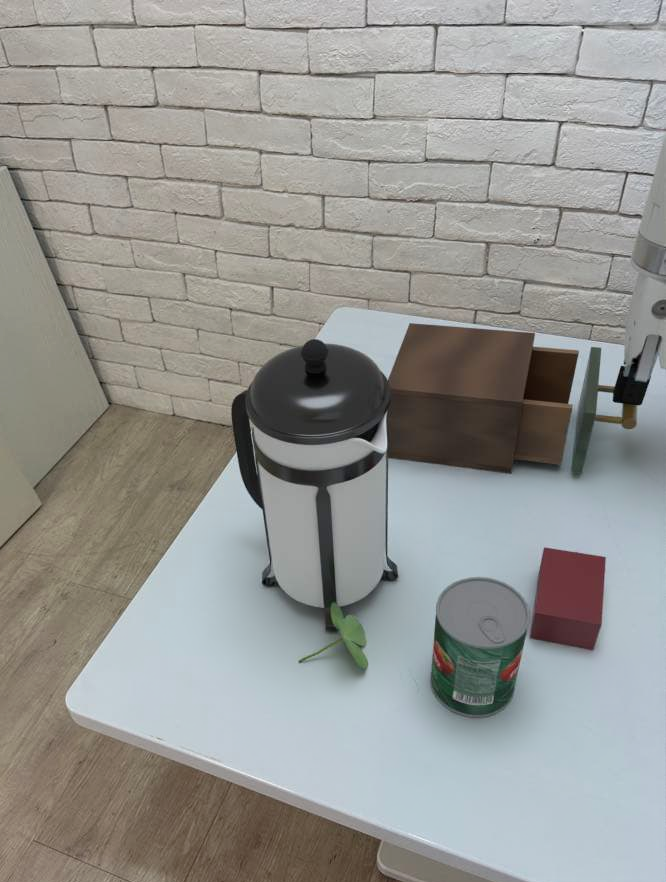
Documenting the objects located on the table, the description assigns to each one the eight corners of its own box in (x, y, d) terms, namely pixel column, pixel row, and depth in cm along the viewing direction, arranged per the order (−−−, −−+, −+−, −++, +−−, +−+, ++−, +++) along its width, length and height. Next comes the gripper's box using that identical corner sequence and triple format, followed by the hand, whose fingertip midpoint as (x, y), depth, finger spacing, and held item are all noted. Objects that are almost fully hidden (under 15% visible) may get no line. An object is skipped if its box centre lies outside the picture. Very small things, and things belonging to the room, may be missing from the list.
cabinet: (524, 403, 106) (535, 332, 99) (511, 473, 97) (522, 401, 90) (407, 390, 111) (409, 322, 103) (384, 457, 102) (384, 387, 94)
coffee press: (397, 525, 93) (402, 286, 72) (399, 634, 82) (406, 390, 61) (250, 525, 95) (213, 295, 74) (232, 631, 84) (183, 396, 63)
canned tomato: (417, 660, 79) (422, 588, 72) (492, 641, 80) (504, 567, 72) (449, 727, 74) (457, 657, 66) (529, 706, 75) (547, 633, 67)
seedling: (329, 680, 85) (381, 652, 82) (308, 705, 77) (365, 675, 75) (294, 622, 85) (344, 592, 83) (269, 641, 78) (324, 609, 75)
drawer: (628, 410, 102) (644, 350, 95) (625, 479, 93) (643, 418, 87) (473, 394, 107) (479, 337, 101) (457, 457, 99) (462, 399, 92)
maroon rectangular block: (538, 572, 86) (544, 547, 83) (598, 582, 84) (606, 556, 81) (529, 638, 80) (535, 612, 77) (594, 650, 78) (602, 624, 75)
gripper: (718, 291, 74) (661, 444, 87) (711, 220, 84) (661, 368, 97) (632, 283, 76) (589, 434, 90) (635, 215, 86) (595, 360, 99)
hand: (626, 399), depth 93 cm, fingers closed
